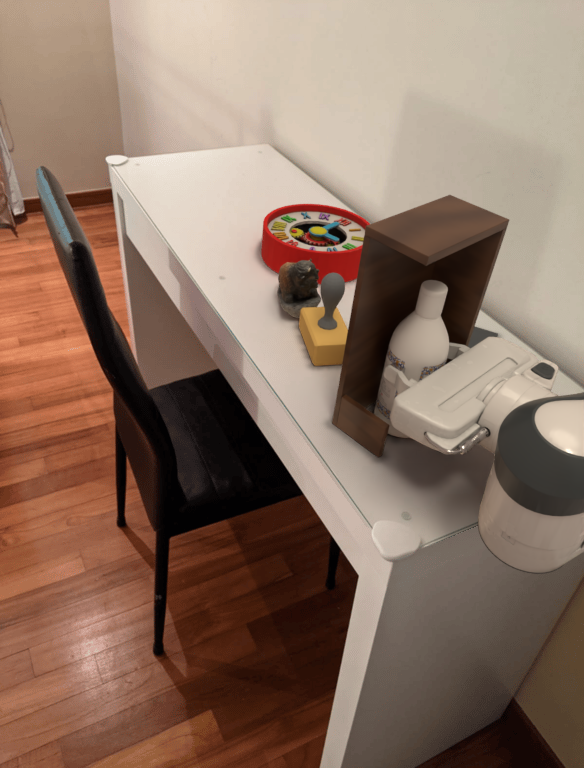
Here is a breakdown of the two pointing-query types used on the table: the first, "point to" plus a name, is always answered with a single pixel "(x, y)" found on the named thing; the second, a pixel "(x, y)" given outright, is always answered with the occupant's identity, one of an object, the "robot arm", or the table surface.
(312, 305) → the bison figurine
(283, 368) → the table surface
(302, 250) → the toy clock
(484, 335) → the pad
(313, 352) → the rubber stamp
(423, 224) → the cabinet
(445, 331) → the bath foam
